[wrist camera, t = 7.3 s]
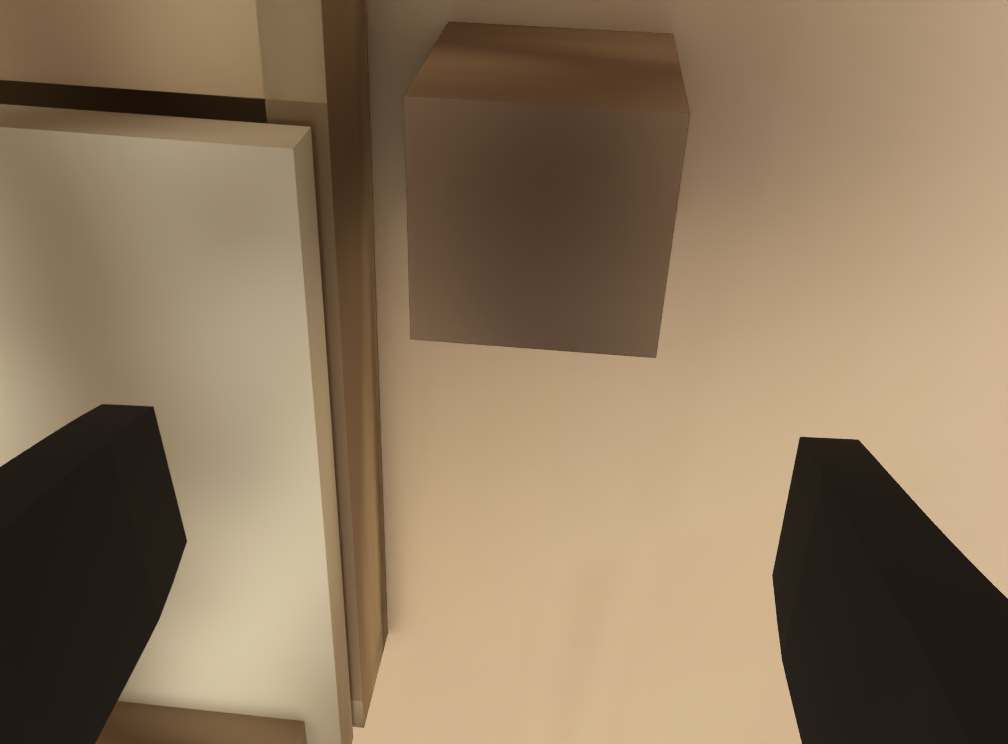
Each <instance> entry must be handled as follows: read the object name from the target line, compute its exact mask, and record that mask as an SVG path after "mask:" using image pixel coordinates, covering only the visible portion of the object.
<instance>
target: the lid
mask: <svg viewBox="0 0 1008 744" xmlns="http://www.w3.org/2000/svg"><path fill="white" fill-rule="evenodd" d="M101 404H113V405H134V406H154V410H155V414H156V418H157V422H158V426H159V430H160V434H161V438H162V442H163V446H164V450H165V454H166V458H167V462H168V466H169V470H170V474H171V478H172V482H173V486H174V490H175V494H176V498H177V502H178V506H179V510H180V514H181V518H182V522H183V526H184V530H185V534H186V538H187V543H186V546H185V549H184V552H183V555H182V558H181V561H180V564H179V567H178V570H177V573H176V576H175V579H174V582H173V585H172V587H171V590H170V593H169V595H168V598H167V601H166V603H165V606H164V609H163V611H162V614H161V617H160V619H159V621H158V623H157V625H156V627H155V629H154V631H153V633H152V635H151V637H150V639H149V641H148V643H147V645H146V647H145V649H144V651H143V653H142V655H141V657H140V659H139V661H138V663H137V665H136V666H135V668H134V670H133V672H132V674H131V676H130V678H129V680H128V682H127V684H126V686H125V688H124V690H123V691H122V693H121V695H120V697H119V699H118V701H117V703H116V705H115V707H114V709H113V710H112V712H111V714H110V716H109V718H108V720H107V722H106V724H105V726H104V728H103V729H102V731H101V733H100V735H99V737H98V739H97V741H96V743H95V744H351V743H352V740H353V728H352V713H351V699H350V685H349V670H348V656H347V641H346V627H345V612H344V598H343V584H342V569H341V555H340V540H339V526H338V511H337V497H336V483H335V468H334V454H333V439H332V425H331V410H330V396H329V382H328V367H327V353H326V338H325V324H324V309H323V295H322V281H321V266H320V252H319V237H318V223H317V208H316V194H315V180H314V165H313V151H312V136H311V127H307V126H294V125H280V124H266V123H253V122H239V121H225V120H212V119H198V118H184V117H171V116H157V115H143V114H130V113H116V112H102V111H89V110H75V109H62V108H48V107H34V106H21V105H7V104H0V467H1V466H2V465H4V464H5V463H7V462H8V461H10V460H11V459H13V458H15V457H16V456H18V455H19V454H21V453H22V452H24V451H25V450H27V449H28V448H30V447H32V446H33V445H35V444H36V443H38V442H39V441H41V440H43V439H44V438H46V437H47V436H49V435H50V434H52V433H54V432H55V431H57V430H58V429H60V428H62V427H63V426H65V425H66V424H68V423H70V422H71V421H73V420H75V419H76V418H78V417H80V416H81V415H83V414H85V413H87V412H88V411H90V410H92V409H94V408H96V407H98V406H99V405H101Z"/></svg>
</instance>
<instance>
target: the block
mask: <svg viewBox="0 0 1008 744" xmlns="http://www.w3.org/2000/svg"><path fill="white" fill-rule="evenodd" d="M689 117H690V111H689V106H688V102H687V97H686V92H685V88H684V83H683V79H682V74H681V69H680V65H679V60H678V55H677V51H676V46H675V41H674V37H673V34H664V33H646V32H627V31H609V30H591V29H573V28H554V27H536V26H518V25H499V24H481V23H463V22H448V24H447V25H446V27H445V29H444V30H443V32H442V34H441V35H440V37H439V39H438V40H437V42H436V44H435V45H434V47H433V49H432V50H431V52H430V54H429V55H428V57H427V59H426V60H425V62H424V64H423V65H422V67H421V69H420V70H419V72H418V74H417V75H416V77H415V79H414V80H413V82H412V84H411V85H410V87H409V89H408V90H407V92H406V94H405V95H404V119H405V157H406V195H407V233H408V271H409V309H410V339H412V340H425V341H438V342H452V343H465V344H478V345H491V346H504V347H518V348H531V349H544V350H557V351H570V352H583V353H597V354H610V355H623V356H636V357H649V358H656V355H657V348H658V340H659V333H660V326H661V319H662V312H663V304H664V297H665V290H666V283H667V275H668V268H669V261H670V254H671V247H672V239H673V232H674V225H675V218H676V211H677V203H678V196H679V189H680V182H681V175H682V167H683V160H684V153H685V146H686V139H687V131H688V124H689Z"/></svg>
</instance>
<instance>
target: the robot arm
mask: <svg viewBox="0 0 1008 744" xmlns="http://www.w3.org/2000/svg"><path fill="white" fill-rule="evenodd" d="M186 543H187V538H186V534H185V530H184V526H183V522H182V518H181V514H180V510H179V506H178V502H177V498H176V494H175V490H174V486H173V482H172V478H171V474H170V470H169V466H168V462H167V458H166V454H165V450H164V446H163V442H162V438H161V434H160V430H159V426H158V422H157V418H156V414H155V410H154V406H134V405H113V404H101V405H99V406H98V407H96V408H94V409H92V410H90V411H88V412H87V413H85V414H83V415H81V416H80V417H78V418H76V419H75V420H73V421H71V422H70V423H68V424H66V425H65V426H63V427H62V428H60V429H58V430H57V431H55V432H54V433H52V434H50V435H49V436H47V437H46V438H44V439H43V440H41V441H39V442H38V443H36V444H35V445H33V446H32V447H30V448H28V449H27V450H25V451H24V452H22V453H21V454H19V455H18V456H16V457H15V458H13V459H11V460H10V461H8V462H7V463H5V464H4V465H2V466H1V467H0V744H95V743H96V741H97V739H98V737H99V735H100V733H101V731H102V729H103V728H104V726H105V724H106V722H107V720H108V718H109V716H110V714H111V712H112V710H113V709H114V707H115V705H116V703H117V701H118V699H119V697H120V695H121V693H122V691H123V690H124V688H125V686H126V684H127V682H128V680H129V678H130V676H131V674H132V672H133V670H134V668H135V666H136V665H137V663H138V661H139V659H140V657H141V655H142V653H143V651H144V649H145V647H146V645H147V643H148V641H149V639H150V637H151V635H152V633H153V631H154V629H155V627H156V625H157V623H158V621H159V619H160V617H161V614H162V611H163V609H164V606H165V603H166V601H167V598H168V595H169V593H170V590H171V587H172V585H173V582H174V579H175V576H176V573H177V570H178V567H179V564H180V561H181V558H182V555H183V552H184V549H185V546H186ZM772 576H773V586H774V595H775V605H776V614H777V623H778V631H779V639H780V647H781V655H782V662H783V666H784V670H785V675H786V679H787V683H788V687H789V692H790V696H791V700H792V704H793V708H794V712H795V716H796V721H797V725H798V729H799V733H800V737H801V741H802V744H1008V599H1007V598H1006V597H1005V596H1004V595H1003V594H1002V593H1001V592H1000V591H999V590H998V589H997V588H996V587H995V586H994V585H993V584H992V583H991V582H990V581H989V580H988V579H987V578H986V577H985V576H984V575H983V574H982V573H981V572H980V571H979V570H978V569H977V568H976V567H975V566H974V565H973V564H972V563H971V562H970V561H969V560H968V559H967V558H966V557H965V556H964V554H963V553H962V552H961V551H960V550H959V549H958V548H957V547H956V546H955V545H954V544H953V543H952V542H951V541H950V540H949V539H948V538H947V537H946V536H945V535H944V534H943V532H942V531H941V530H940V529H939V528H938V527H937V526H936V525H935V524H934V523H933V522H932V521H931V520H930V518H929V517H928V516H927V515H926V514H925V513H924V512H923V511H922V510H921V509H920V508H919V506H918V505H917V504H916V503H915V502H914V501H913V500H912V499H911V498H910V496H909V495H908V494H907V493H906V492H905V491H904V490H903V489H902V488H901V486H900V485H899V484H898V483H897V482H896V481H895V480H894V479H893V478H892V476H891V475H890V474H889V473H888V472H887V471H886V470H885V469H884V468H883V466H882V465H881V464H880V463H879V462H878V461H877V460H876V459H875V457H874V456H873V455H872V454H871V453H870V452H869V451H868V450H867V449H866V448H865V446H864V445H863V444H862V443H861V442H860V441H859V440H854V439H833V438H812V437H800V439H799V444H798V449H797V454H796V459H795V464H794V470H793V475H792V480H791V485H790V490H789V495H788V500H787V505H786V510H785V515H784V520H783V525H782V530H781V535H780V540H779V545H778V550H777V555H776V560H775V565H774V570H773V575H772Z"/></svg>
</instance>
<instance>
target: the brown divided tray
mask: <svg viewBox="0 0 1008 744" xmlns="http://www.w3.org/2000/svg"><path fill="white" fill-rule="evenodd" d="M0 104H7V105H21V106H34V107H48V108H62V109H75V110H89V111H102V112H116V113H130V114H143V115H157V116H171V117H184V118H198V119H212V120H225V121H239V122H253V123H266V124H280V125H294V126H307V127H311V136H312V151H313V165H314V180H315V194H316V208H317V223H318V237H319V252H320V266H321V281H322V295H323V309H324V324H325V338H326V353H327V367H328V382H329V396H330V410H331V425H332V439H333V454H334V468H335V483H336V497H337V511H338V526H339V540H340V555H341V569H342V584H343V598H344V612H345V627H346V641H347V656H348V670H349V685H350V699H351V713H352V726H353V727H363V728H364V725H365V721H366V717H367V713H368V710H369V706H370V702H371V698H372V694H373V690H374V686H375V682H376V678H377V674H378V670H379V666H380V662H381V658H382V654H383V650H384V646H385V642H386V638H387V634H388V630H387V601H386V572H385V543H384V515H383V486H382V457H381V428H380V400H379V371H378V342H377V313H376V285H375V256H374V227H373V199H372V170H371V141H370V112H369V84H368V55H367V26H366V0H0Z"/></svg>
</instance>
